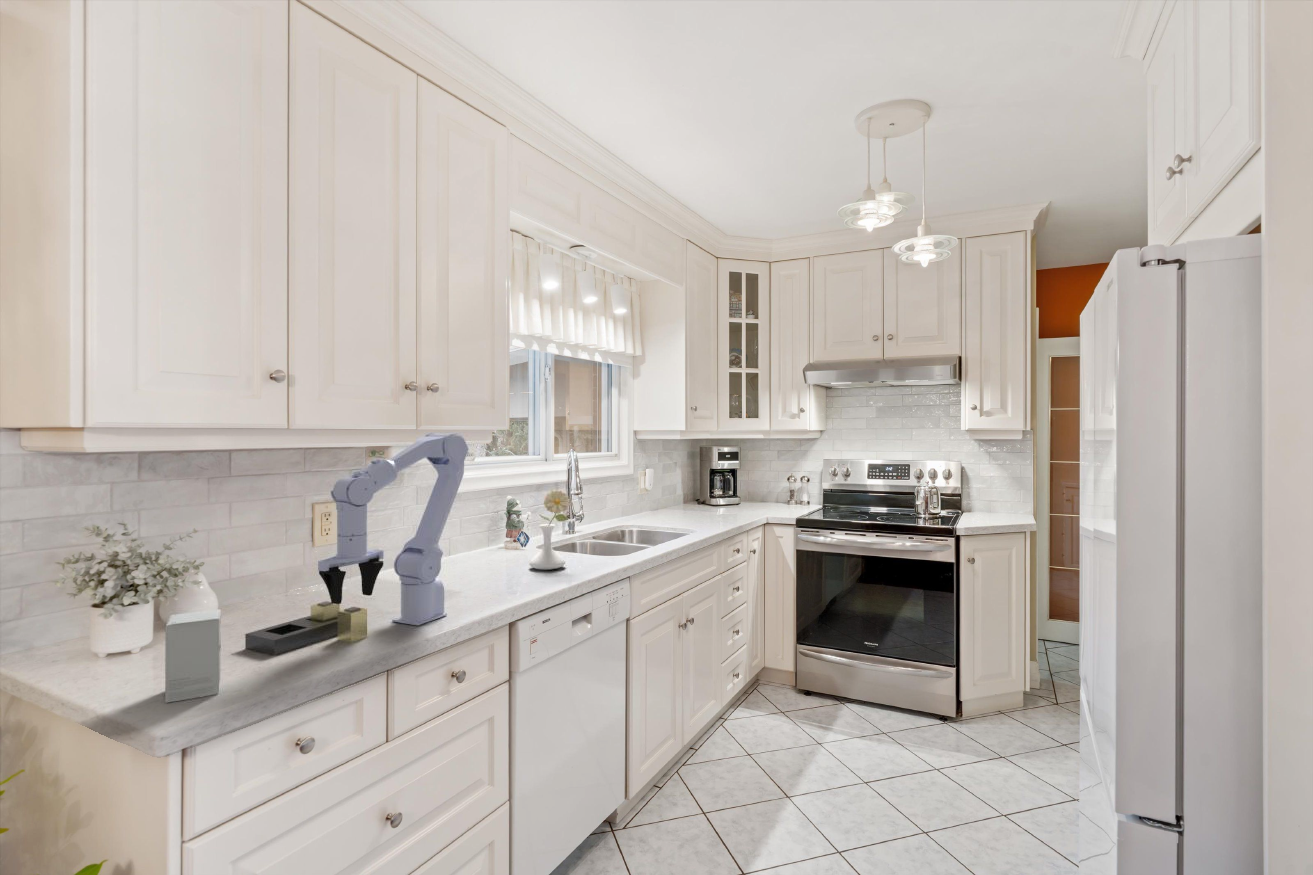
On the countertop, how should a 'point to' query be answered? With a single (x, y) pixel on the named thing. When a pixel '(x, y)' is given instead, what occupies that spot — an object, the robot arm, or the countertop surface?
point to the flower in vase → (547, 555)
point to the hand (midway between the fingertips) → (352, 598)
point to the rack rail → (290, 635)
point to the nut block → (352, 624)
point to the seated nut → (324, 612)
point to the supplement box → (192, 655)
